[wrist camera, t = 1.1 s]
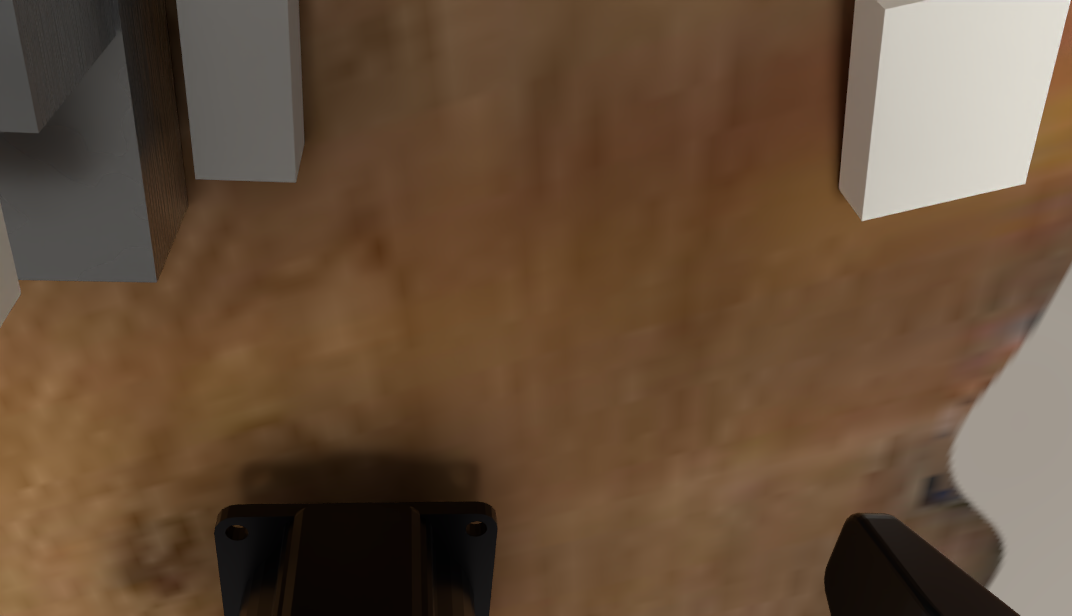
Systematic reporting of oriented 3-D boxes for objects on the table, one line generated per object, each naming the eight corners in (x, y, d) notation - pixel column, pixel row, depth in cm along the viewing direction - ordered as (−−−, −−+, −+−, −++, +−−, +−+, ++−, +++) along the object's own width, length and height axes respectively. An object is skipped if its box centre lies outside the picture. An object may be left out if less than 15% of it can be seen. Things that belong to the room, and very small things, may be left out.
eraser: (861, 223, 21) (1027, 183, 21) (883, 10, 17) (1080, -35, 17) (837, 189, 22) (996, 151, 22) (854, -18, 18) (1041, -62, 18)
